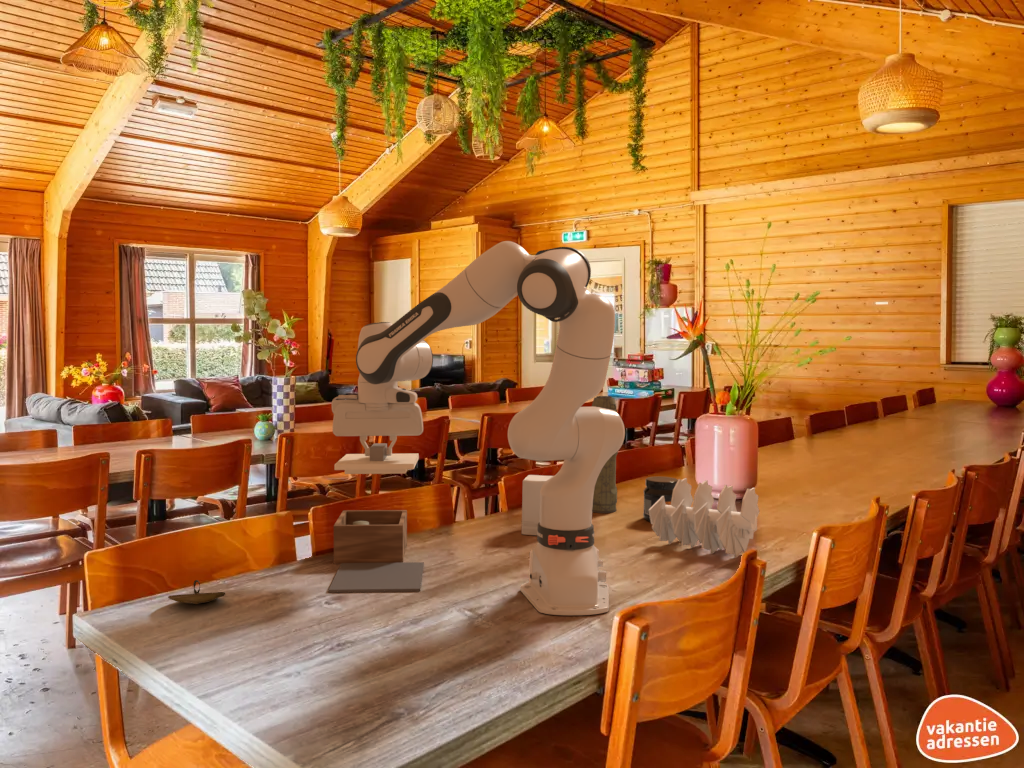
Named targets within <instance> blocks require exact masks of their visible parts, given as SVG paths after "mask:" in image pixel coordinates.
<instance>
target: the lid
mask: <svg viewBox="0 0 1024 768" xmlns="http://www.w3.org/2000/svg"><path fill="white" fill-rule="evenodd" d="M197 583H198V586H199V587H198V590H196V584H197ZM200 591H201V582H200V581H199V580H198V579H195V580H194V581H193V593H187V594H185V593H184V594H173V595H171V594H170V595H168V599H169V600H171V601H175V602H178V603H182V604H192V605H198V604H205V603H209V602H213V601H215V600H217V599H218V598H222V597H224V596H226V592H225V591H217V592H213V591H212V592H200Z"/></svg>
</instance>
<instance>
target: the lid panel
mask: <svg viewBox="0 0 1024 768" xmlns="http://www.w3.org/2000/svg"><path fill="white" fill-rule="evenodd" d="M369 447H370V456H365V453H345V455H344V456H342V458H339V460H338V461H336V463H334V469H333V470H334V471H344V474H345V475H361V474H362V475H365V474H366V475H377V474H378V475H382V474H383V475H385V474H387V475H388V474H390V475H392V474H394V475H395V474H396V475H397V474H407V472H408V470H414V469H415V467H416V465H417V463H418V461H419V459H420V455H419V453H392V456H385V447H388V443H381V442H380V443H376V442H374V443H373V444H372V445H371V446H369Z"/></svg>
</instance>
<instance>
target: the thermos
mask: <svg viewBox="0 0 1024 768" xmlns="http://www.w3.org/2000/svg"><path fill="white" fill-rule="evenodd" d="M593 406H594V407H600V408H606V409H610V410H614V411H615V412H617V403H616V401H615V397H612V396H611V395H609V396H608V395H596V396H595V397H593V401H592V403H591V407H593ZM618 415H619V416H620V417H621V415H620V413H618ZM618 454H619V450H618V451H617V452H616V453H615V454H614V455H613V456H611V457H610V459H609V460H608V461H607V462H606V463H605V465H604V466H603V468H602V470H601V472H600V474H599V476H598V478H597V481H596V484H595V488H594V494H593V506H592V513H598V514H613V513H615V512H616V511H617V503H618V488H617V484H616V481H617V479H616V478H617V477H616V476H617V474H616V473H617V455H618Z"/></svg>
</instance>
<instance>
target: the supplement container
mask: <svg viewBox="0 0 1024 768" xmlns="http://www.w3.org/2000/svg"><path fill="white" fill-rule="evenodd" d="M678 479H679V478H678ZM678 479H677V478H675V477H670V476H647V477H646V478H645V487H644V489H643V513H642V516H643V518H644V520H646V521H648V522H650V523H651V521H650V515H649V509H650V508H651V507H652V506H653V505H654V504H655V503H656V502H657V501H658V500H659V499H660V498H661V497H662V496H664V499H665V504H666V505H671V499H672V493H673V489H674V487H675V485H676V483H677V481H678Z"/></svg>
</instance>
